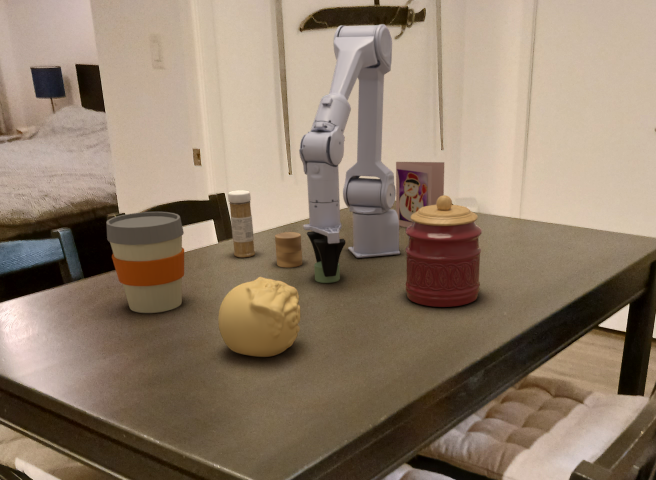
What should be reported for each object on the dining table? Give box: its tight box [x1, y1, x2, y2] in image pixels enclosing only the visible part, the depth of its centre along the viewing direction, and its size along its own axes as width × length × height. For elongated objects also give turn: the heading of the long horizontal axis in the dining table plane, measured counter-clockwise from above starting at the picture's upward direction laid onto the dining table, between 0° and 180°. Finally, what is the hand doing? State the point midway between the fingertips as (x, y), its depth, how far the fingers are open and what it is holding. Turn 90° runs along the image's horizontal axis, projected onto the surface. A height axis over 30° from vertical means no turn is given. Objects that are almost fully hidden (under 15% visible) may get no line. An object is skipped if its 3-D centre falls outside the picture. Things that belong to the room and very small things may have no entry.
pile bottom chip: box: [275, 249, 303, 269], centre depth 155 cm, size 5×5×3 cm
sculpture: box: [217, 276, 301, 358], centre depth 111 cm, size 11×12×11 cm
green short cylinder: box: [313, 261, 341, 284], centre depth 145 cm, size 5×5×3 cm
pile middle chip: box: [274, 231, 303, 253], centre depth 154 cm, size 5×5×3 cm
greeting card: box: [395, 161, 445, 229], centre depth 180 cm, size 11×7×15 cm, turn 43°
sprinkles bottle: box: [227, 189, 256, 258], centre depth 160 cm, size 5×5×14 cm
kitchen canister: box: [405, 195, 483, 308], centre depth 131 cm, size 13×13×18 cm
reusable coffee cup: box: [106, 211, 185, 314], centre depth 131 cm, size 13×13×15 cm
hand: (327, 272), depth 145 cm, fingers closed on green short cylinder, 5 cm apart
